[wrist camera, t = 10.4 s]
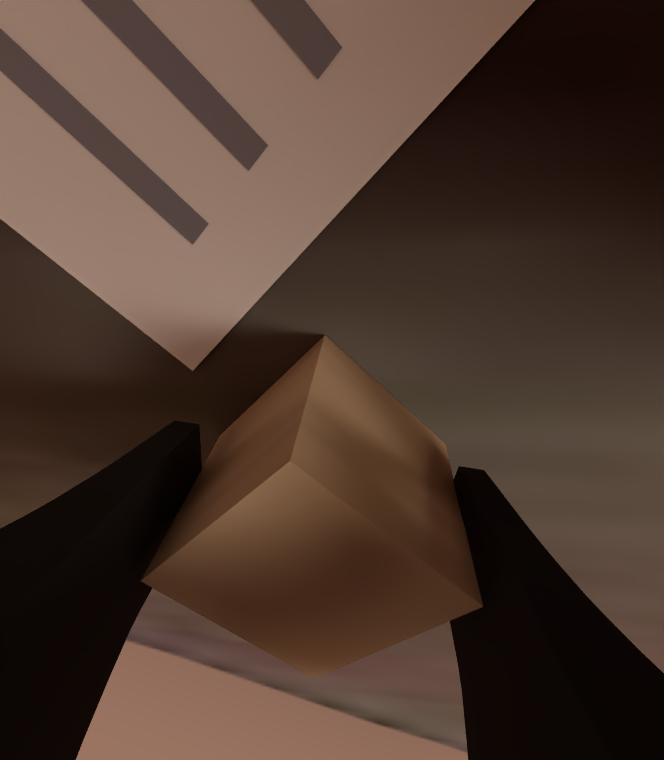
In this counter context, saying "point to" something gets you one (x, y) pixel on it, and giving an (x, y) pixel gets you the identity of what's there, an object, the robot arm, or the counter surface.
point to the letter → (211, 136)
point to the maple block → (322, 523)
